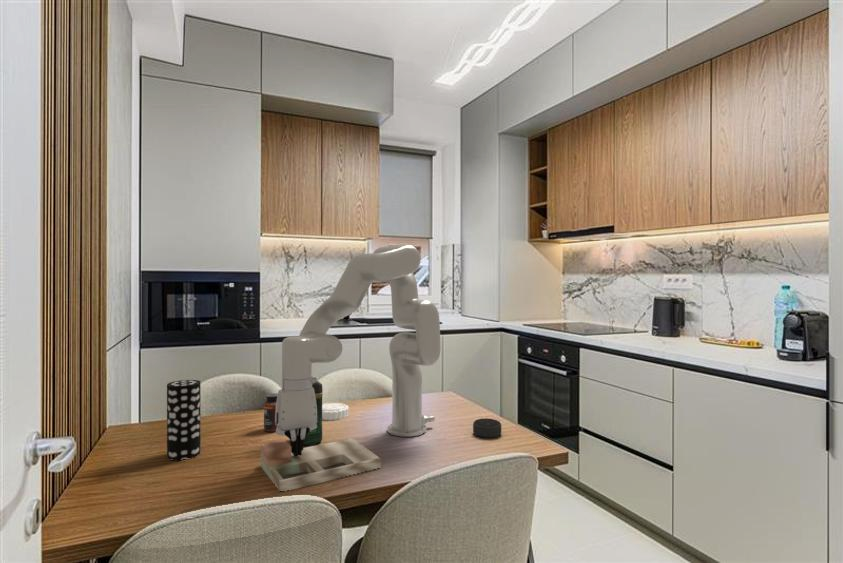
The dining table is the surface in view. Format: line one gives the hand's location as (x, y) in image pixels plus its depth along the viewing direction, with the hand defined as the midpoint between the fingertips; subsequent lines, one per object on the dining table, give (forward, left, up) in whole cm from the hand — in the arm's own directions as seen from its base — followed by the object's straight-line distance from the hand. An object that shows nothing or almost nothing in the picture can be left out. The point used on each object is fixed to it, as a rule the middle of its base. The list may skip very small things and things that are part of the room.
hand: (296, 454), depth 124 cm
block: (+5, 0, -1) cm, 5 cm away
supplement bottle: (-3, -33, -3) cm, 33 cm away
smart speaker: (-59, +7, -4) cm, 60 cm away
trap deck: (-5, +4, -3) cm, 7 cm away
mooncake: (-25, -38, -4) cm, 46 cm away
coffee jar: (-9, -17, -3) cm, 20 cm away
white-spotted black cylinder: (+24, -24, -3) cm, 34 cm away
